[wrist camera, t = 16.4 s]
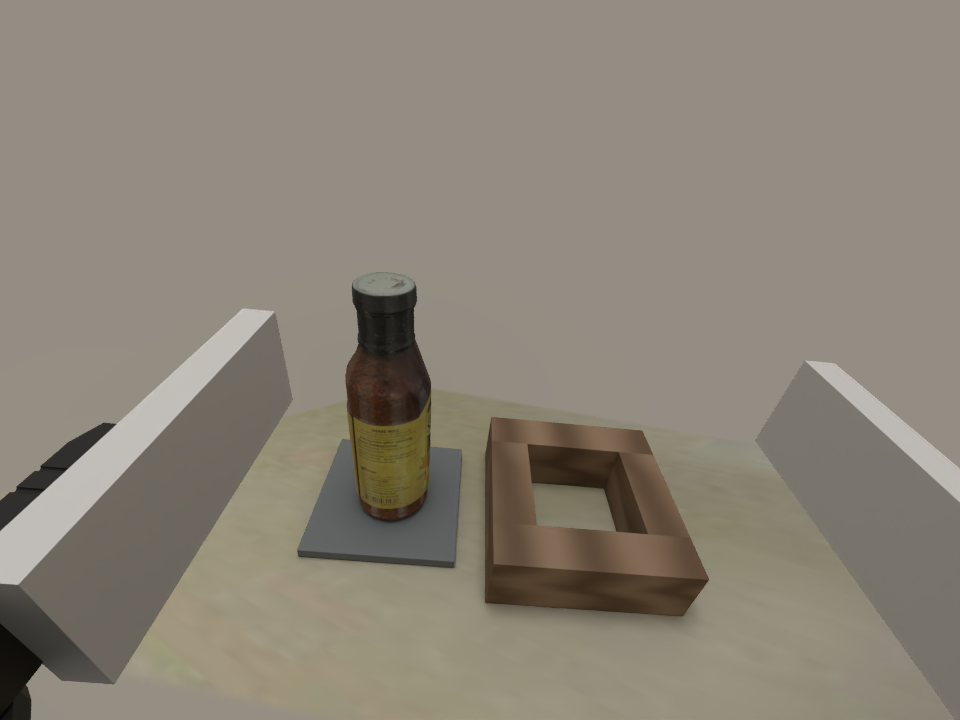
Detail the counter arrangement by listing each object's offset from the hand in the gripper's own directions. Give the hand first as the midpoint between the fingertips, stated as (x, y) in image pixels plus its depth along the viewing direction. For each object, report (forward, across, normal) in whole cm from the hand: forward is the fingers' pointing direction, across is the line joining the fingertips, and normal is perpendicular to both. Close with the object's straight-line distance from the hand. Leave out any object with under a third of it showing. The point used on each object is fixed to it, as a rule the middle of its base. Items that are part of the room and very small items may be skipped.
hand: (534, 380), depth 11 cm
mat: (+16, -8, -26) cm, 31 cm away
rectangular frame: (+15, +8, -26) cm, 31 cm away
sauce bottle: (+16, -8, -25) cm, 30 cm away
